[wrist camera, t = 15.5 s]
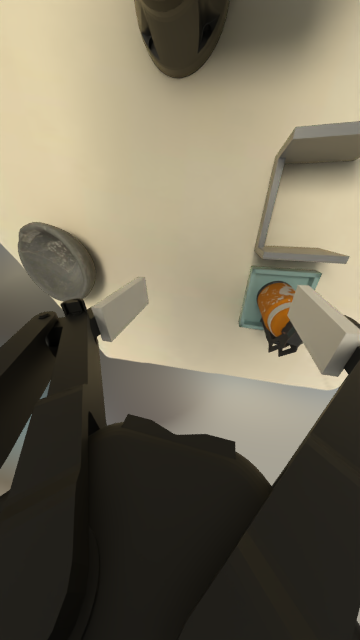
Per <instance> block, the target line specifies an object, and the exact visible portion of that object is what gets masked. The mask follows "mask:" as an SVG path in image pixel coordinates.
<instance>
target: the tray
mask: <svg viewBox="0 0 360 640" xmlns="http://www.w3.org/2000/svg"><path fill="white" fill-rule="evenodd" d="M321 275H322V273H320V272H318V271H316V270H301V269H287V268H272V267H257V266H251V269H250V274H249V278H248V283H247V287H246V291H245V296H244V300H243V305H242V309H241V313H240V318H239V327H245V328H252V329H259V330H264V328H263V325H262V322H260V319H261V317H262V315H261V312H260V310H259V307H258V304H257V294H258V292H259V290H260V289H261V288H262V287H263V286H264V285H266V284H267V283H270V282H273V281H283V282H286V283H288V284H289V285H290V286H291V287H292V288H293V289H295V290H296V289H297V286H298V285H309V286H310V287H311V288H312V289H314V290H315V288H316V286H317V284H318V282H319V279H320V277H321Z"/></svg>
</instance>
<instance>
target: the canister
mask: <svg viewBox="0 0 360 640" xmlns="http://www.w3.org/2000/svg"><path fill="white" fill-rule="evenodd" d="M295 292H296V290H295V289H293V288H292V287H291V286H290V285H289V284H288V283H286V282H283V281H273V282H270V283H267V284H266V285H264V286H263V287H262V288H261V289H260V290H259V292H258V294H257V304H258V307H259V310H260V312H261V315H262V317H261V319H260V322H262V325H263V328H264V331H265V334H266V338H267V341H268V343H269V352H272V351H275V350H277V349H278V357H280V356H283V355H287V354H290V353H293V352H296V351H297V348H298V347H299V346H300V345H301V344H303V341H302V340H301V338H300V336H299V335H298V333H297V331H296V329H295V328H294V326H293V324H292V323H291V321H290V319H289V317H288V316H287V315H288V312H289V309H290V306H291V303H292V300H293V297H294V294H295ZM273 344H276V345H275V346H272V345H273ZM289 345H290V346H291V348H290V349H287V350H284V351H282V349H283V348H285V347H287V346H289Z"/></svg>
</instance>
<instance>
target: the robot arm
mask: <svg viewBox="0 0 360 640" xmlns="http://www.w3.org/2000/svg"><path fill="white" fill-rule="evenodd" d="M134 1H135V8H136V14H137V20H138V24H139V28H140V32H141V35H142V38H143V41H144V43H145V46H146V48H147V50H148V52H149V54H150V56H151V58H152V60H153V62H154V63H155V64H156V66H157V67H158V68H159V69H160V70H161V71H162V72H163V73H165V74H167V75H168V76H171V77H176V78H180V77H185V76H188V75H190V74H192V73H194V72H195V71H196V70H198V69H199V68H200V67H201V66H202V65H203V64H204V63H205V61H206V60H207V59H208V58H209V56H210V55H211V53H212V51H213V50H214V48H215V46H216V44H217V42H218V40H219V37H220V35H221V32H222V29H223V26H224V23H225V20H226V16H227V11H228V6H229V0H134ZM147 304H148V295H147V288H146V281H145V277H137V278H136V279H134V280H132V281H131V282H129V283H128V284H126V285H125V286H123V287H122V288H120V289H118V290H117V291H115V292H114V293H112V294H111V295H109V296H108V297H106V298H105V299H103V300H101V301H100V302H98V303H97V304H95V305H94V306H92V307H91V308H89V309H86V306H85V303H84V301H83V299H81V298H76V299H70V300H67V301H64V302H63V303H61V307H62V309H63V311H64V313H65V317H62V318H58V316H57V314H56V313H55V312H53V311H49V312H43V313H40V314H38V315H36V316H34V317H33V318H32V319H31V320H30V321H29V322H28V323H27V324H25V325H24V326H23V327H22V328H21V329H20V330H19V331H18V332H17V333H16V334H15V335H14V336H12V337H11V338H10V339H9V340H8V341H7V342H6V343H5V344H4V345H2V346H1V347H0V468H1V467H2V465H3V464H4V462H5V460H6V459H7V457H8V455H9V454H10V452H11V450H12V448H13V447H14V445H15V443H16V441H17V439H18V437H19V436H20V434H21V432H22V430H23V428H24V427H25V425H26V423H27V421H28V419H29V418H30V416H31V414H32V416H31V419H30V423H29V426H28V430H27V434H26V436H25V440H24V444H23V447H22V451H21V454H20V457H19V461H18V464H17V468H16V471H15V475H14V478H13V482H12V485H11V489H10V490H9V491H7V492H6V493H5V494H3V495H2V496H0V640H360V625H359V623H358V622H357V616H358V612H359V608H360V324H359V323H358V322H356V321H355V320H354V319H352V318H350V317H348V316H346V315H343V314H341V313H340V312H339V311H338V310H337V309H336V308H335V307H333V306H332V305H331V304H330V303H329V302H328V301H326V300H325V299H324V298H323V297H322V296H321V295H319V294H318V293H317V292H316V291H315V290H314V289H312V288H311V287H310V286H309V285H298V286H297V289H296V292H295V294H294V297H293V300H292V303H291V306H290V309H289V312H288V315H287V316H288V317H289V319H290V321H291V323H292V324H293V326H294V328H295V329H296V331H297V333H298V335H299V336H300V338H301V340H302V341H303V343H304V345H305V347H306V348H307V350H308V352H309V353H310V355H311V357H312V358H313V360H314V362H315V364H316V365H317V367H318V369H319V370H320V372H321V374H324V375H330V376H337V377H338V376H339V375H340V373H341V372H342V371H343V369H345V370H346V372H347V373H348V374H349V375H348V376H347V377H346V379H345V380H344V382H343V383H342V384H341V386H340V387H339V389H338V391H337V392H336V394H335V395H334V396H333V398H332V399H331V401H330V402H329V404H328V405H327V407H326V408H325V410H324V411H323V412H322V414H321V415H320V417H319V418H318V420H317V421H316V423H315V424H314V426H313V427H312V429H311V430H310V431H309V433H308V435H307V436H306V438H305V439H304V440H303V442H302V443H301V445H300V446H299V448H298V449H297V451H296V452H295V454H294V455H293V456H292V458H291V460H290V461H289V462H288V464H287V465H286V467H285V468H284V470H283V471H282V472H281V474H280V475H279V477H278V478H277V479H276V481H275V482H274V484H273V485H272V486H271V485H270V483H269V482H268V481H267V480H266V479H265V477H264V476H263V474H262V473H261V472H259V470H258V469H257V468H256V467H255V466H254V465H253V464H252V463H251V462H250V461H249V460H247V459H246V458H245V457H243V456H242V455H240V454H239V453H237V452H235V442H234V441H230V440H226V439H223V438H219V437H215V436H210V435H207V434H195V435H193V434H192V435H175V434H173V433H171V432H170V431H168V430H167V429H165V428H163V427H162V426H160V425H159V424H157V423H155V422H154V421H152V420H149V419H145V418H142V417H138V416H134V415H130V414H128V415H127V417H126V419H125V421H124V422H120V423H115V424H112V425H108V426H107V424H106V417H105V406H104V396H103V386H102V376H101V365H100V355H99V344H98V339H97V336H99V335H101V338H102V340H103V341H108V342H112V341H113V340H114V339H115V338H116V337H117V336H118V335H119V334H120V333H121V332H122V331H123V330H124V329H125V327H126V326H127V325H128V324H129V323H130V322H131V321H132V320H133V319H134V318H135V317H136V316H137V315H138V314H139V313H140V312H141V311H142V310H143V309H144V308H145V306H146V305H147ZM50 380H51V382H50ZM49 382H50V386H49V390H48V395H47V397H46V398H42V399H40V398H41V396H42V394H43V392H44V391H45V389H46V387H47V385H48V383H49Z"/></svg>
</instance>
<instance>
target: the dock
mask: <svg viewBox="0 0 360 640" xmlns="http://www.w3.org/2000/svg"><path fill="white" fill-rule="evenodd" d="M359 157H360V121H357V122H345V123H334V124H323V125H312V126H301V127H295V129H294V130H293V132H292V133H291V135H290V136H289V138H288V139H287V141H286V142H285V143H284V145H283V146H282V148H281V149H280V151H279V152H278V154H277V155H276V157H275V161H274V165H273V170H272V174H271V179H270V183H269V188H268V192H267V196H266V201H265V205H264V210H263V214H262V219H261V223H260V228H259V232H258V236H257V241H256V245H255V250H254V251H255V252H256V253H257V254H258V255H259V256H260V257H261V258H262V259H274V260H291V261H308V262H325V263H342V264H346V263H347V261H348V259H349V257H350V256H346V255H342V254H338V253H335V252H331V251H327V250H323V249H320V248H305V247H282V246H264V243H265V239H266V235H267V231H268V227H269V223H270V219H271V215H272V211H273V207H274V203H275V199H276V195H277V191H278V187H279V183H280V179H281V175H282V171H283V167H284V164H298V163H318V162H338V161H354V160H355V159H357V158H359Z"/></svg>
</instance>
